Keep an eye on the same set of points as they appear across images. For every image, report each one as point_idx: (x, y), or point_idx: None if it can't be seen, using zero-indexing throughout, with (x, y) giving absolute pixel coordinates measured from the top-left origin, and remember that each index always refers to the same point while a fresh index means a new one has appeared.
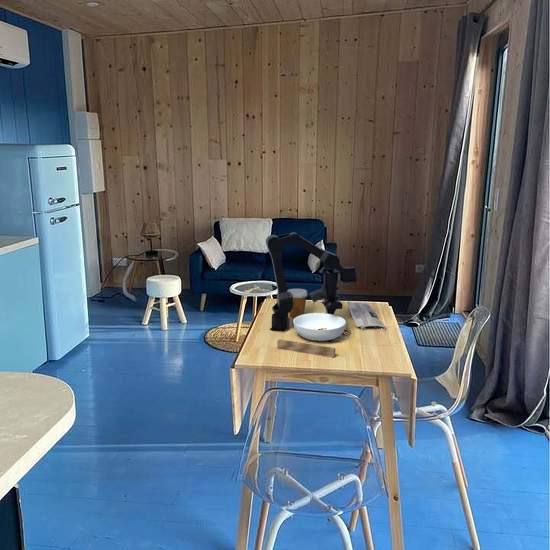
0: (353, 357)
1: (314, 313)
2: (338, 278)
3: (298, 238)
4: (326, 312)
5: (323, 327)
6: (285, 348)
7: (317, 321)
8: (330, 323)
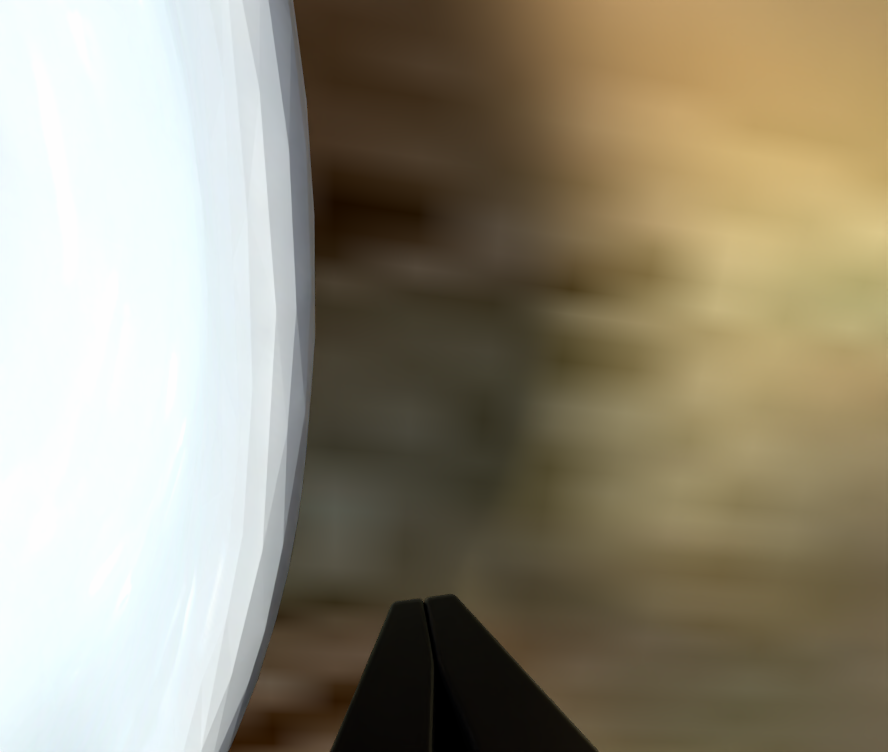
0: None
1: (218, 55)
2: None
3: None
4: (575, 733)
5: (40, 365)
6: None
7: (191, 215)
8: (66, 624)
